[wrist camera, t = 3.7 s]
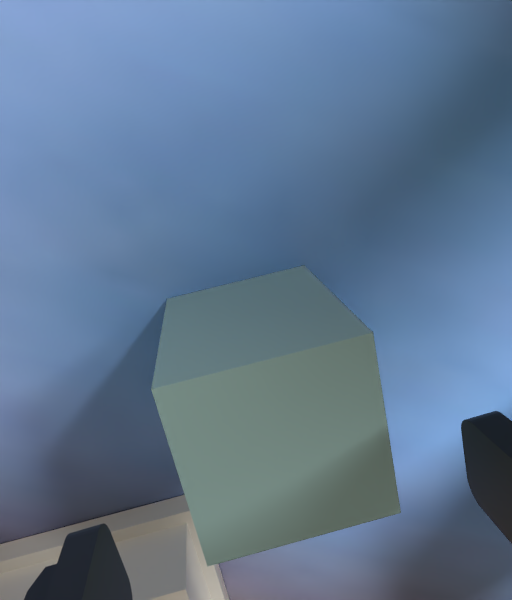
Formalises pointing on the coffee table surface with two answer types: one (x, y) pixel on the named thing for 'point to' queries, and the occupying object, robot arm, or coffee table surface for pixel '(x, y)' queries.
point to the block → (273, 413)
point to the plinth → (127, 554)
